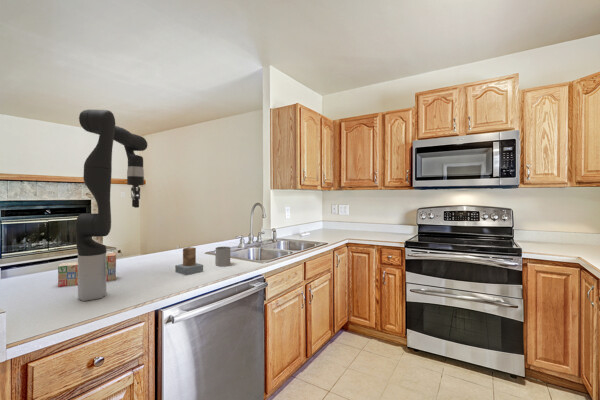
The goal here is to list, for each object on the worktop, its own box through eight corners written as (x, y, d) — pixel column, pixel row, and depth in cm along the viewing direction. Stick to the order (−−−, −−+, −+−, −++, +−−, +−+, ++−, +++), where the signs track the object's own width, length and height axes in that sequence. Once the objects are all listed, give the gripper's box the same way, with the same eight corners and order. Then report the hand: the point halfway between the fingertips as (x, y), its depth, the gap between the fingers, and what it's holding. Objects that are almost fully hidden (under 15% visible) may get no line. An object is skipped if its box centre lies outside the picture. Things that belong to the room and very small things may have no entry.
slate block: (203, 272, 155) (203, 264, 155) (186, 276, 147) (186, 268, 147) (192, 269, 161) (192, 261, 161) (175, 272, 153) (175, 265, 153)
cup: (233, 264, 171) (233, 247, 170) (222, 267, 164) (222, 249, 163) (223, 262, 175) (223, 246, 175) (212, 265, 168) (212, 248, 168)
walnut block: (195, 264, 155) (195, 247, 155) (190, 266, 151) (190, 249, 151) (188, 263, 156) (188, 247, 156) (183, 265, 152) (182, 248, 152)
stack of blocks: (57, 287, 126) (57, 259, 126) (60, 283, 131) (60, 256, 131) (115, 280, 137) (115, 254, 137) (116, 277, 142) (116, 252, 142)
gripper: (145, 175, 146) (145, 207, 146) (141, 176, 157) (141, 206, 158) (128, 174, 141) (128, 208, 142) (125, 176, 153) (125, 206, 153)
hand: (135, 207), depth 150 cm, fingers open, 8 cm apart
